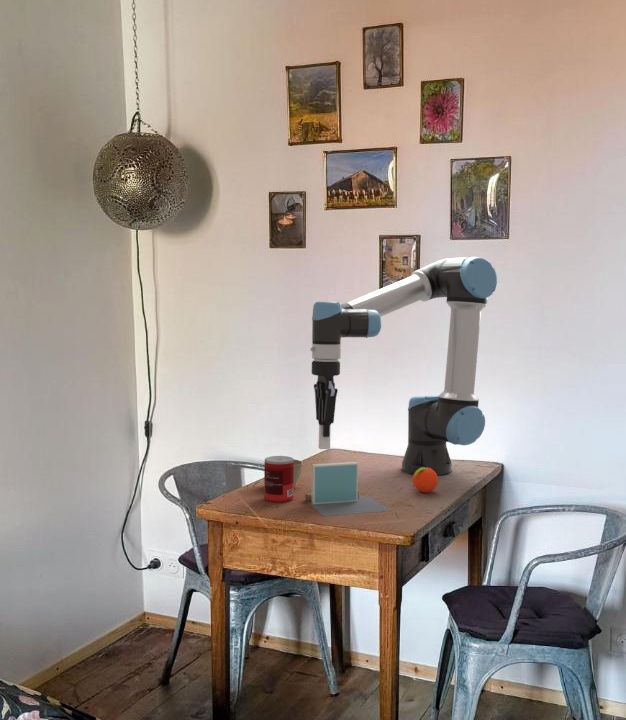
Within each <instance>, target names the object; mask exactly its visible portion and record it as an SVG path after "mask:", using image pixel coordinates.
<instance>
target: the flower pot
mask: <svg viewBox="0 0 626 720" xmlns="http://www.w3.org/2000/svg"><path fill="white" fill-rule="evenodd" d="M293 460H294V487H295V486H296V484H297V483H298V481H299V478H300V476H301V473H302V469H303V461H302V460H299V459H294V458H293Z"/></svg>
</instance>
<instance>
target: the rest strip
mask: <svg viewBox="0 0 626 720" xmlns="http://www.w3.org/2000/svg"><path fill="white" fill-rule="evenodd" d="M359 496H360V495H359V491H358V498H359ZM304 501H305V502H306V504H308V503H310V502H312V492H306V493H304Z"/></svg>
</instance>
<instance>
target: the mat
mask: <svg viewBox="0 0 626 720" xmlns="http://www.w3.org/2000/svg"><path fill="white" fill-rule="evenodd" d="M307 504H308V505H309V506H310V507H311V508H313V509H314V510H315V511H316V512H318V513H319V514H320V515H321V516H322V517H331V516H332V517H333V516H342V515H354V514H355V515H356V514H369V513H370V514H371V513H381V512H383V513H385V512H392V511H393V510H392V509H390V507H387V506H386V505H384V504H383V503H381V502H380V501H378V500H376V499H375V498H374V497H372V496H371V495H359V498H358V501H352V502H339V503H325V504H312V502H310V503H307Z"/></svg>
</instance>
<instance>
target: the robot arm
mask: <svg viewBox="0 0 626 720" xmlns="http://www.w3.org/2000/svg"><path fill="white" fill-rule="evenodd" d="M497 286H498V274H497V272H496V269H495V267H494V265H492V262H490V261H489V260H488V259H486V258H484V257H480V256H478V257H477V256H464V257H463V256H462V257H448V258H444V259H440V260H437V261H436V262H435V261H434V262H433V263H430V264H429V265H425V266H424V267H422V268H420V269H416V270H415V271H413V272H412V273H411V275H410V276H408V277H406V278H404V279H401V280H398V281H396V282H394V283H392V284H389V285H386V286H384V287H382V288H379V289H377V290H375V291H372V292H369V293H368V294H365V295H362V296H360V297H357V298H355V299H352V300H350V301H347V302H345V303H343V304H342V303H341V302H340V301H316V302H315V303H313V307H312V314H311V315H312V316H311V321H312V324H311V325H312V327H311V328H312V333H311V341H312V343H311V347H310V349H309V350H310V352H311V357H312V359H313V360H312V361H311V374H312V375H313V376H317V379H316V383H314V384H313V390H314V398H315V399H314V400H315V401H314V402H315V418H316V421H317V423H318V449H320V450H330V449H331V425H332V424H334V422H335V412H336V411H335V410H336V402H337V395H338V391H339V390H338V388H336V387H335V386H336V384H335V383H336V382H335V379H334V377H337V376H339V375H340V374H341V362H340V361H339V360H340V359H342V358H341V355H342V353H341V352H342V351H341V350H342V349H341V347H342V343H341V341H342V338H366V339H368V338H375V337H377V336H378V335H379V333H380V332H381V329H382V317H383V316H385V315H388V314H390V313H393V312H395V311H397V310H400V309H403V308H404V307H407V306H409V305H412V304H415V303H417V302H420V301H422V302H428V301H430V300H433V299H437V298H438V299H439V298H440V299H441V298H446V300H445V302H446V304H447V306H449V308H450V315H449V317H450V318H449V330H448V343H447V355H446V366H445V375H444V377H445V379H444V390H443V391H442V392H441V393H440V394H439V395H437V394H436V395H420V396H419V395H418V396H413V397H412V396H411V397H410V398H409V400H408V406H407V407H408V408H407V411H408V413H407V414H408V415H407V416H408V417H407V418H408V423H407V424H408V426H407V427H408V431H407V433H408V434H407V438H408V439H407V446H406V449H405V451H404V452H405V453H404V455H403V459H402V461H401V470H402V471H403V472H405V473H408V474H413V475H414V473H415V472H416V470H418V469H419V468H422V467H427V468H431V469H432V470H434V471H435V473H436V474H437V476H438V475H439V476H440V475H446V474H450V473H452V469H453V468H452V467H453V463H452V459H451V456H450V454H449V450H448V447H447V443H450V444H452V445H455V446H456V445H458V446H469V445H471V444H474V443H475V442H476V441H477V440H478V439H479V438H480V437H481V436H482V435H483V432H484V430H485V426H486V417H485V414H484V413H483V410H482V409H481V408H479V402H480V401H479V400H480V399H479V398H478V397H477V395H476V394H475V385H476V384H475V383H476V372H477V362H478V350H479V338H480V330H481V329H480V327H481V316H482V315H481V314H482V311H483V309H484V308H485V307H487V306H488V298H490V297H491V296H492V295H493V293H495V291H496V290H497Z"/></svg>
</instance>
